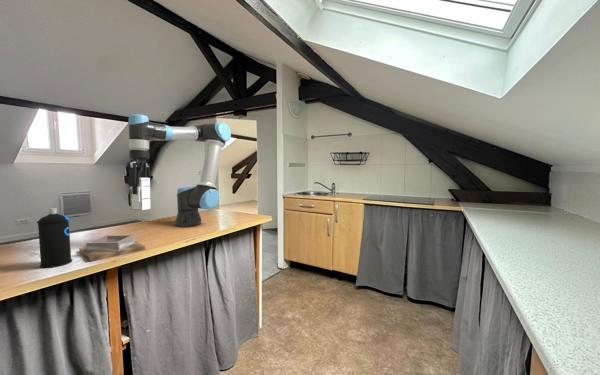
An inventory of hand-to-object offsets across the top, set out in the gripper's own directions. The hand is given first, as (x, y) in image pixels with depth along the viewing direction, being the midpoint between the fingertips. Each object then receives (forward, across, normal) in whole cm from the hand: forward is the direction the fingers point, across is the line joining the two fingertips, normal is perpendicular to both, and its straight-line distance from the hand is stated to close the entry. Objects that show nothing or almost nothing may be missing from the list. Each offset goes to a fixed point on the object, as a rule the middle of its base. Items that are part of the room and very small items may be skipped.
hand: (140, 200), depth 112 cm
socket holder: (+20, +10, -6) cm, 23 cm away
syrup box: (+4, 0, 0) cm, 4 cm away
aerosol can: (+20, +24, -17) cm, 35 cm away
